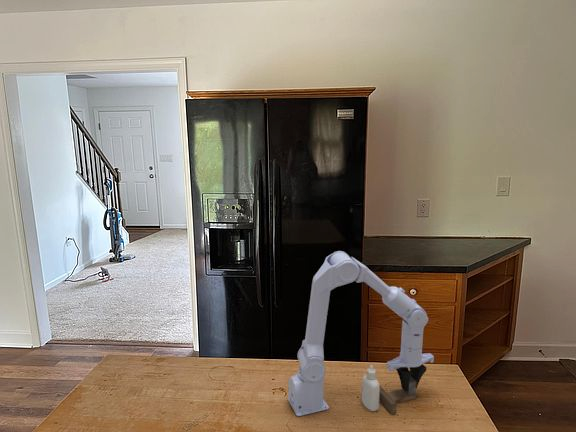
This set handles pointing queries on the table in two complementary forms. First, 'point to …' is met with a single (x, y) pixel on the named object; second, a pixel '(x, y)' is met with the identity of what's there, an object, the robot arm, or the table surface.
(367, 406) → the eye dropper bottle
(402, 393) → the grey hook bracket
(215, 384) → the table surface
